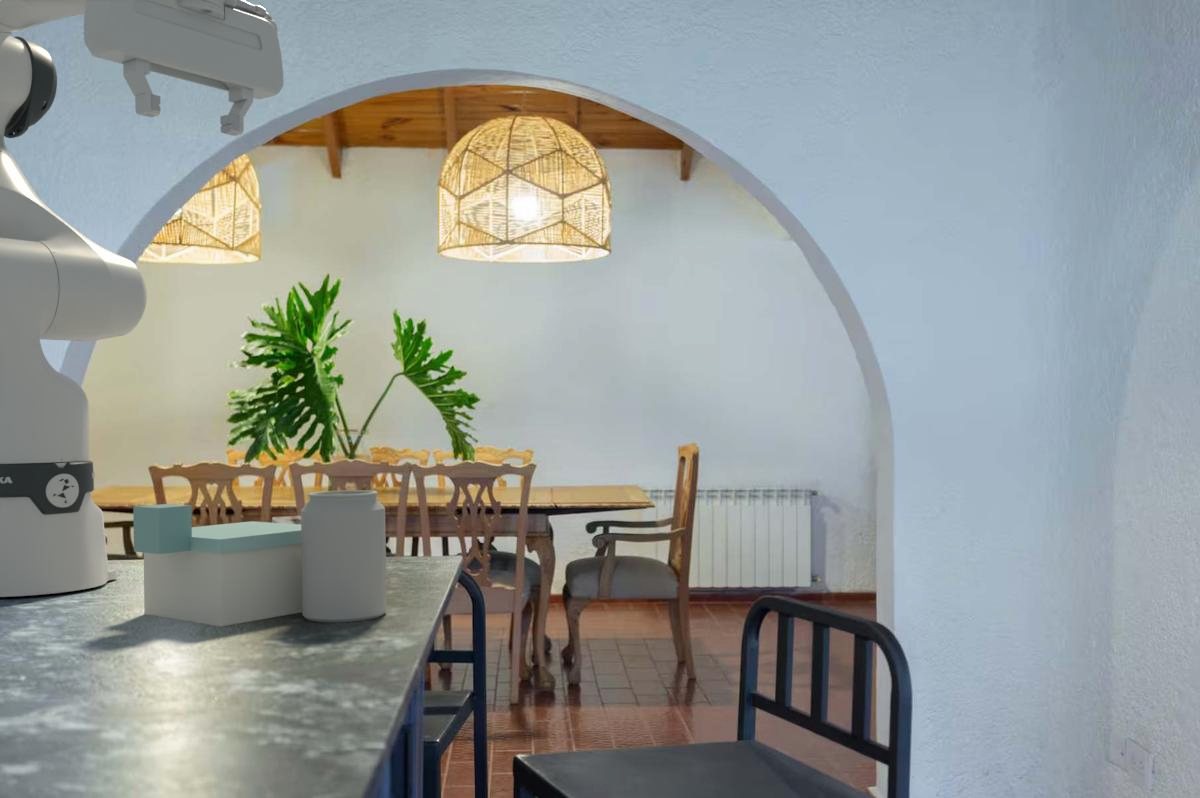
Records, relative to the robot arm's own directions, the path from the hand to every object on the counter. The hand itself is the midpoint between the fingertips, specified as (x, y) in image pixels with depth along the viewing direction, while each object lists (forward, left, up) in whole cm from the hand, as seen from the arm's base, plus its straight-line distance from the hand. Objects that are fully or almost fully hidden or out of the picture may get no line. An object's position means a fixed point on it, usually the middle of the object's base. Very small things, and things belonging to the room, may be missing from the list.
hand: (191, 124), depth 112 cm
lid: (+5, 0, -41) cm, 41 cm away
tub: (+5, +1, -47) cm, 47 cm away
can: (+16, +5, -47) cm, 50 cm away
